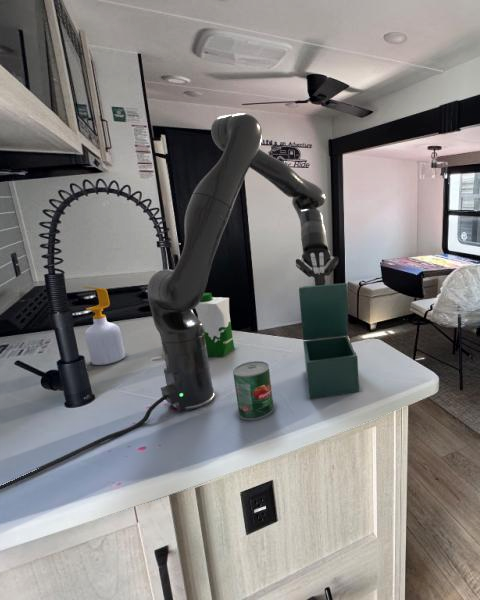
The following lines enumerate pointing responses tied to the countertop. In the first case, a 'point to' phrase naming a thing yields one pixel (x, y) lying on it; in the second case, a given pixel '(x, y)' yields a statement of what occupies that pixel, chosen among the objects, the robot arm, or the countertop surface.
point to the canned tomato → (253, 390)
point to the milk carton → (216, 324)
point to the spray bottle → (103, 334)
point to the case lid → (323, 310)
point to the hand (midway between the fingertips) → (320, 286)
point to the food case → (331, 366)
